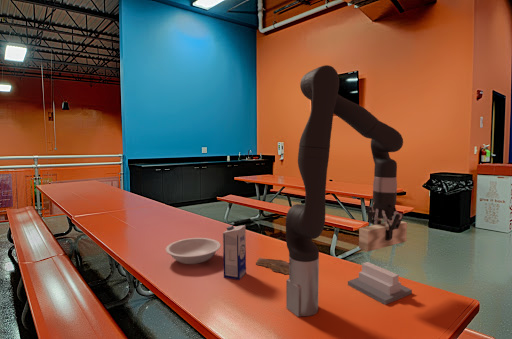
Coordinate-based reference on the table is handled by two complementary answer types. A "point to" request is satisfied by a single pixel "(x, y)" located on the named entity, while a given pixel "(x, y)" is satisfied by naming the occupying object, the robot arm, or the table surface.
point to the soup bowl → (193, 250)
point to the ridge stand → (379, 284)
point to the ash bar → (380, 236)
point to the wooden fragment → (274, 265)
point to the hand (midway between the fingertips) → (383, 238)
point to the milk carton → (234, 252)
